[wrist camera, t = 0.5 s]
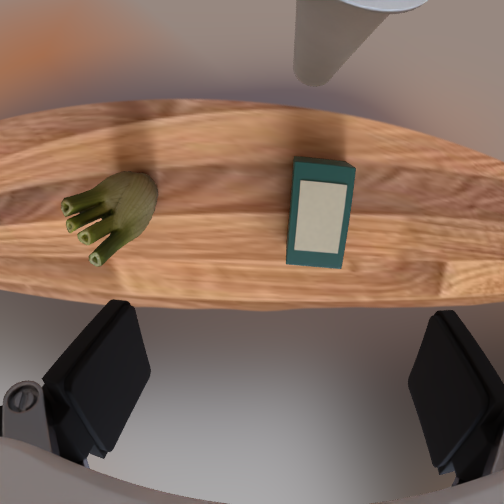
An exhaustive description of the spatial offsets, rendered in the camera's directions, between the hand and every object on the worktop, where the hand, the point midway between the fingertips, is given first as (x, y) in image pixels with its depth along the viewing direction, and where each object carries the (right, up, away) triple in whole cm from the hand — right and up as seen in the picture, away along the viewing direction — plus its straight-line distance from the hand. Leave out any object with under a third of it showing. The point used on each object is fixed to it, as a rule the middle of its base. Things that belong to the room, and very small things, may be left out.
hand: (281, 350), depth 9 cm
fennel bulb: (-12, +9, +22) cm, 27 cm away
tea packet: (+5, +8, +20) cm, 22 cm away
